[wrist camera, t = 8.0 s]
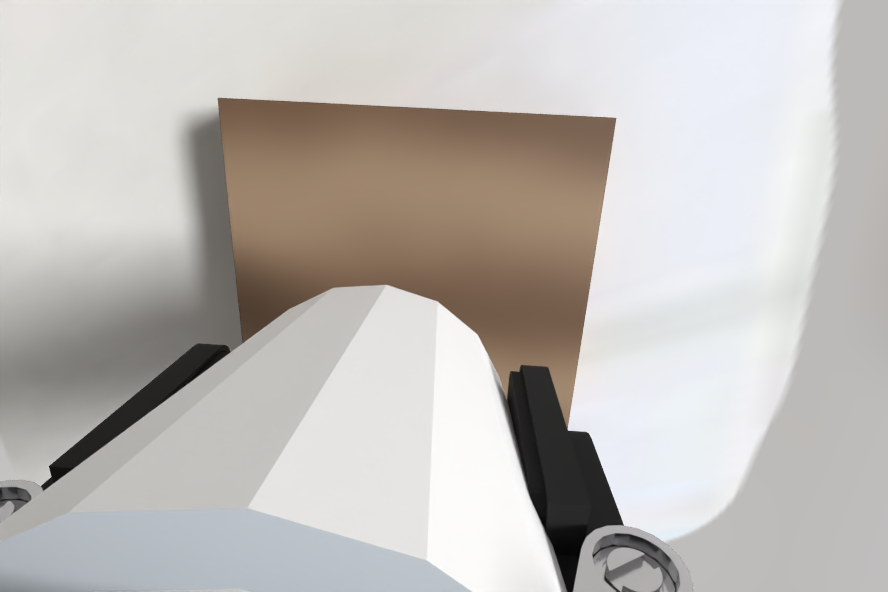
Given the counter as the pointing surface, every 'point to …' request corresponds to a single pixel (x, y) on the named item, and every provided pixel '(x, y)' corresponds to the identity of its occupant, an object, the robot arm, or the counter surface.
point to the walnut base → (422, 216)
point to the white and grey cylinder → (305, 471)
